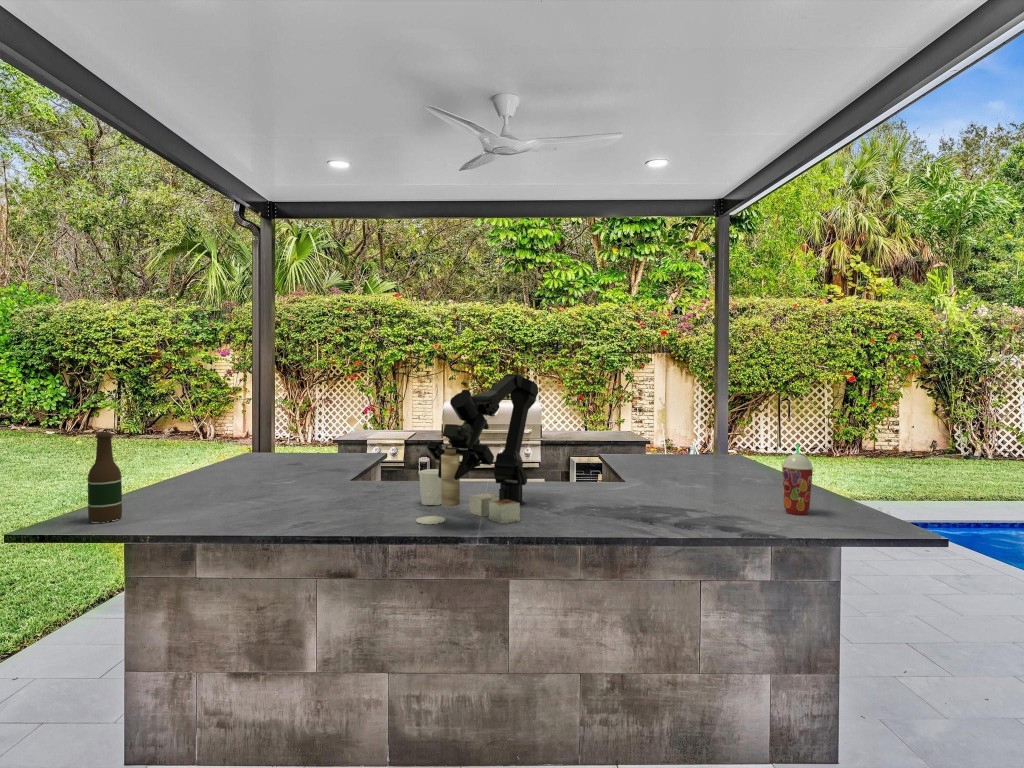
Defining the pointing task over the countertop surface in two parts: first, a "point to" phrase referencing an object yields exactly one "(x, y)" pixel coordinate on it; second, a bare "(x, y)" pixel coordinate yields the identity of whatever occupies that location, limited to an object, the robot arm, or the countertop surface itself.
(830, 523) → the countertop surface
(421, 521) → the coaster
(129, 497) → the countertop surface
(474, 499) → the spice tin
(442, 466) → the pepper mill
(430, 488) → the white cup
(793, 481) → the smoothie
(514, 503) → the spice tin
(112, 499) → the beer bottle
